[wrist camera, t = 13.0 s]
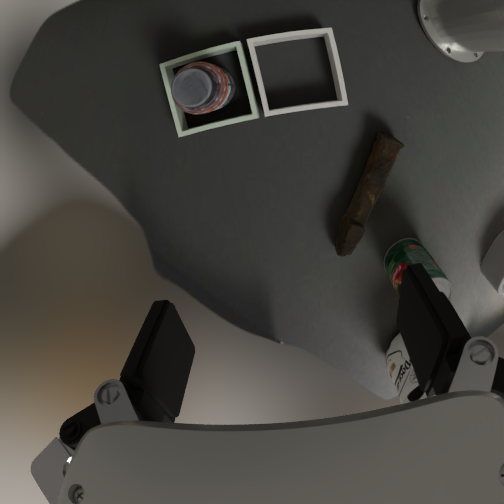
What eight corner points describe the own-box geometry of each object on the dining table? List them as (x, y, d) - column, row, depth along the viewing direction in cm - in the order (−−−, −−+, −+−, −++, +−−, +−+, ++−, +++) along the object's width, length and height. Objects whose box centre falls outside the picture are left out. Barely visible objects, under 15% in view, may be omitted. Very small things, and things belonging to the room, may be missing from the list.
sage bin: (242, 44, 30) (239, 40, 27) (259, 116, 35) (258, 117, 32) (167, 66, 32) (159, 64, 29) (185, 133, 36) (178, 137, 34)
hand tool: (374, 127, 34) (385, 132, 30) (397, 140, 35) (411, 146, 31) (319, 241, 44) (323, 257, 40) (342, 249, 44) (348, 265, 40)
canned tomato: (376, 253, 44) (398, 296, 34) (416, 229, 41) (447, 267, 32) (392, 285, 47) (412, 329, 37) (429, 263, 44) (456, 303, 35)
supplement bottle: (182, 92, 34) (148, 94, 24) (210, 58, 31) (186, 46, 21) (216, 118, 35) (194, 129, 26) (246, 85, 33) (235, 81, 23)
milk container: (367, 344, 55) (385, 419, 39) (435, 295, 48) (473, 365, 32) (402, 372, 60) (419, 434, 45) (459, 332, 53) (489, 392, 37)
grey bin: (327, 32, 28) (331, 27, 25) (342, 104, 33) (348, 105, 30) (248, 43, 30) (246, 39, 27) (265, 115, 35) (265, 116, 32)
